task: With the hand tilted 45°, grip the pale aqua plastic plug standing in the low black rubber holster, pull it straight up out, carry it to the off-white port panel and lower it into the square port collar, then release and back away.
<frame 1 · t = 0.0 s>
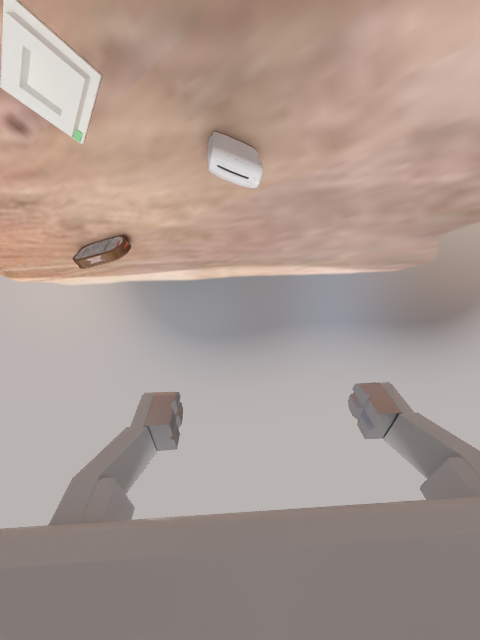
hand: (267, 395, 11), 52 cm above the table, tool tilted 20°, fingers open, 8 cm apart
port: (52, 81, 37), on the table
tin: (107, 242, 61), on the table
photo printer: (233, 150, 46), on the table
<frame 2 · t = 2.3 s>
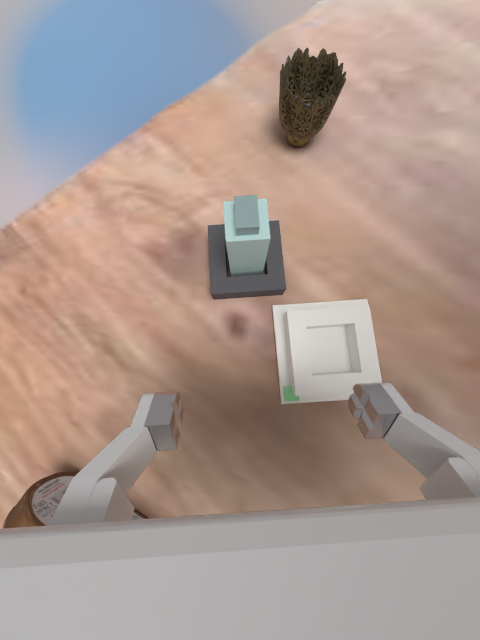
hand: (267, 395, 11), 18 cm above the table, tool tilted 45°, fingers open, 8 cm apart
port: (324, 349, 28), on the table
cup: (297, 140, 33), on the table
plug: (246, 244, 25), in the holster
tin: (116, 504, 26), on the table
holster: (245, 264, 30), on the table
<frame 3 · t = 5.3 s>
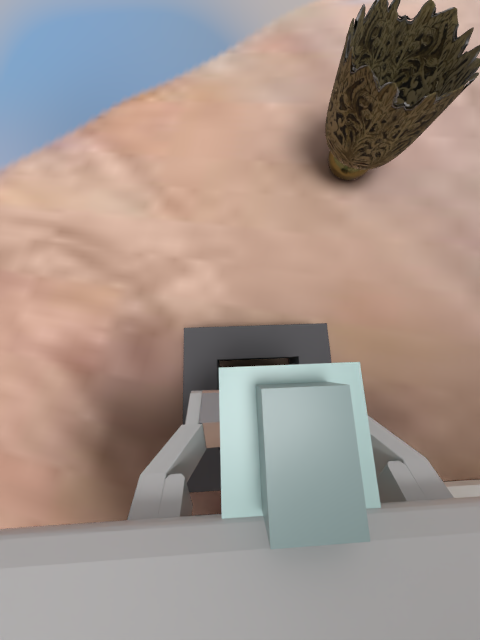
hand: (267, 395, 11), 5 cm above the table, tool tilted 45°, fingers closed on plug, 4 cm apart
port: (414, 596, 14), on the table
cup: (344, 168, 20), on the table
plug: (269, 410, 10), in the holster, touching gripper
holster: (255, 395, 16), on the table
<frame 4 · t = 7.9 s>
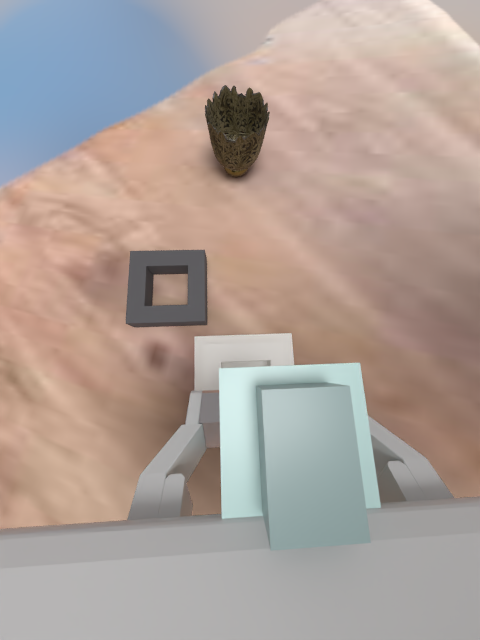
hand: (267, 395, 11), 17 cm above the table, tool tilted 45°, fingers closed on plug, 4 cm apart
port: (245, 384, 27), on the table
cup: (236, 170, 34), on the table
plug: (269, 411, 10), point 17 cm above the table, touching gripper
holster: (172, 291, 29), on the table
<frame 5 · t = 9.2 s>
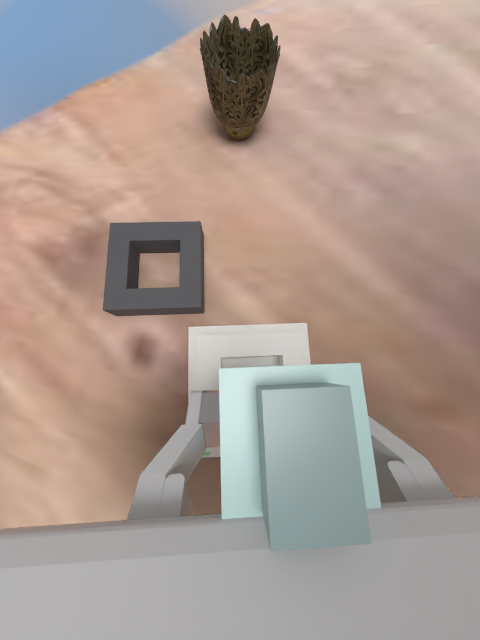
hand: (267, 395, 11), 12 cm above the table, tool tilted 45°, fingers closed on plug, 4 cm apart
port: (250, 385, 22), on the table
cup: (238, 132, 29), on the table
plug: (269, 411, 10), point 12 cm above the table, touching gripper
holster: (162, 273, 24), on the table
when the fingers open (8 cm above the table, at t = 10.6 s): plug drops 1 cm, resting on port.
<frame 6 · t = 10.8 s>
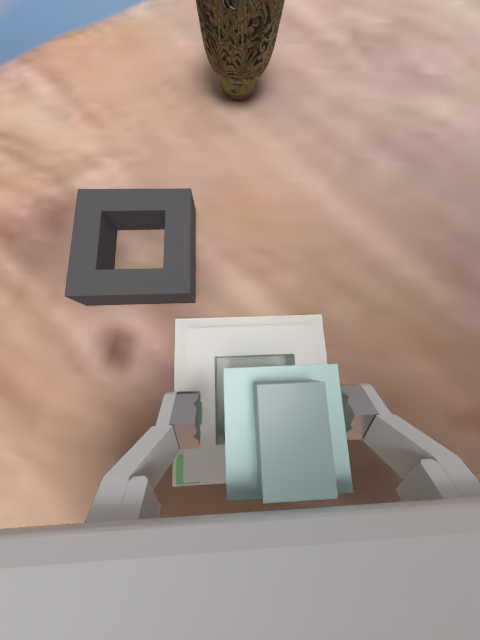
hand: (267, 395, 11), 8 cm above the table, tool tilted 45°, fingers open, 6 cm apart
port: (252, 392, 18), on the table
cup: (237, 92, 24), on the table
plug: (265, 405, 12), in the port, point 6 cm above the table
holster: (144, 254, 20), on the table
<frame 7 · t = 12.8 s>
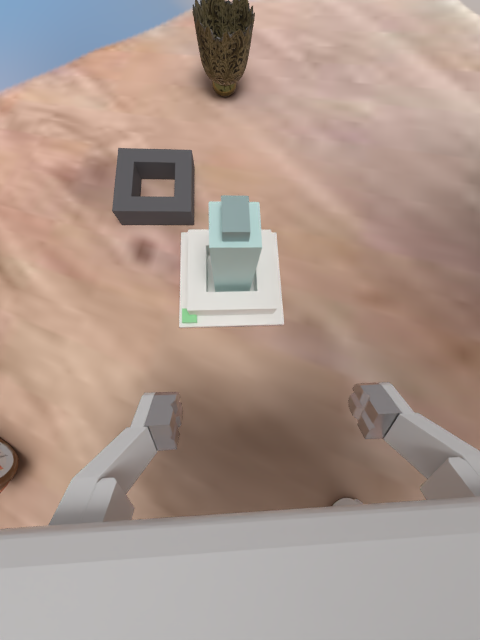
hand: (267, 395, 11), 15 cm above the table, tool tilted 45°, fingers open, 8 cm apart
port: (230, 278, 28), on the table
cup: (224, 91, 35), on the table
plug: (233, 253, 22), in the port, point 6 cm above the table
holster: (159, 194, 30), on the table
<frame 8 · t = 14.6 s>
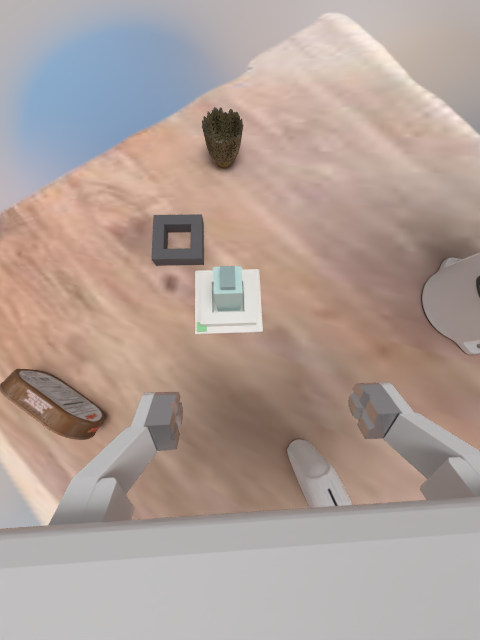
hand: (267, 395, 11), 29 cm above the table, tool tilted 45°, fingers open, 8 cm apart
port: (228, 301, 42), on the table
cup: (224, 163, 48), on the table
plug: (228, 290, 36), in the port, point 6 cm above the table
tin: (76, 397, 38), on the table
holster: (180, 243, 44), on the table
photo printer: (306, 470, 37), on the table
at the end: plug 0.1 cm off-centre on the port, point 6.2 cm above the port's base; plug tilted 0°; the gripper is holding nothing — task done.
